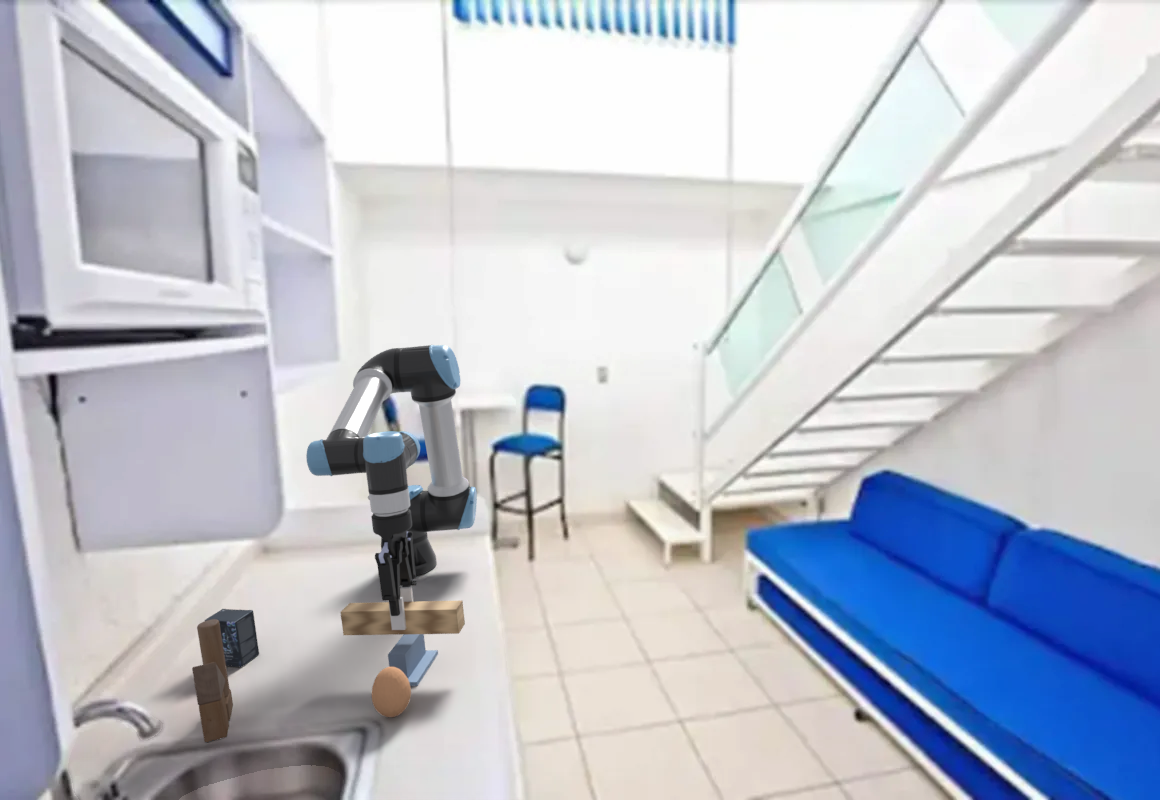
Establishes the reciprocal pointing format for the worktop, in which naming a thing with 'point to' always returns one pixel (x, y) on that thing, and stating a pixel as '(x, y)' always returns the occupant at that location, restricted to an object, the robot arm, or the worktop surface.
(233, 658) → the box
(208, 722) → the wooden block
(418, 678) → the fulcrum
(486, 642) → the worktop surface
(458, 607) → the oak bar
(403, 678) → the egg
